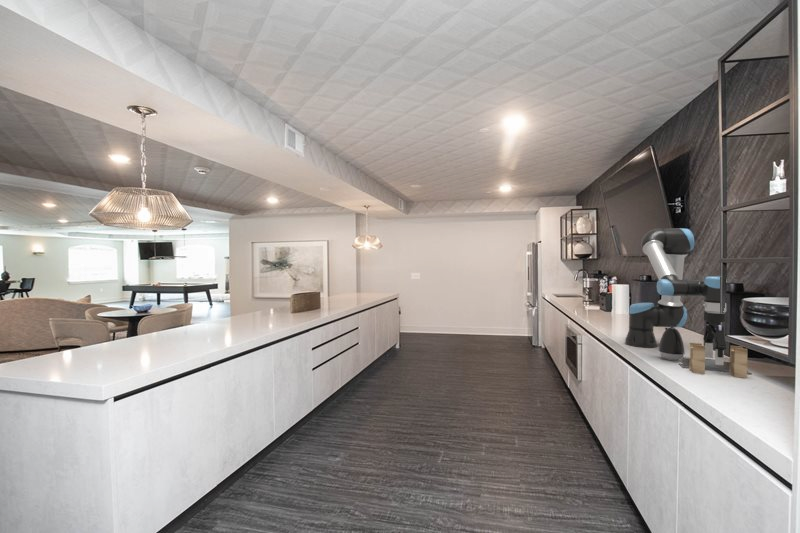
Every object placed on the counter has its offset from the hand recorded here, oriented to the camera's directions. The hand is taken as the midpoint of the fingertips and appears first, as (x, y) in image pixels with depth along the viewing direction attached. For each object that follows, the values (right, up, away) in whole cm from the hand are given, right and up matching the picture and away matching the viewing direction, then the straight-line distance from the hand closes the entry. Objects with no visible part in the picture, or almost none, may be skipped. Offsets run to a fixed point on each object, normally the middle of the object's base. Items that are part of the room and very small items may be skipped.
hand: (713, 361), depth 175 cm
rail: (0, -3, 0) cm, 3 cm away
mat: (0, -4, 0) cm, 4 cm away
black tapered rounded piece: (-7, -3, +17) cm, 19 cm away
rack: (-4, -4, -7) cm, 9 cm away
